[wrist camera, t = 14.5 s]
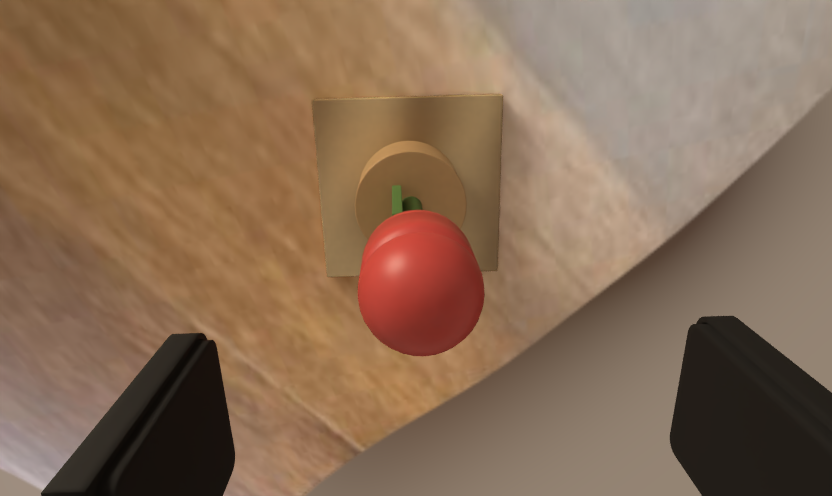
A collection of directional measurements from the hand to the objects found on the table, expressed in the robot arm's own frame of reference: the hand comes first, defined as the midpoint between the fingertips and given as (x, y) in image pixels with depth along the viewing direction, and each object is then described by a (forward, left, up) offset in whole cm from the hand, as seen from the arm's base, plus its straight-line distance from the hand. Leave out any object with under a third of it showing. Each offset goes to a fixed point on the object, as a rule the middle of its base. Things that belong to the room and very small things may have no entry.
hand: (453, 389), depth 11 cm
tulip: (0, 0, -17) cm, 17 cm away
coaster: (0, 0, -18) cm, 18 cm away
